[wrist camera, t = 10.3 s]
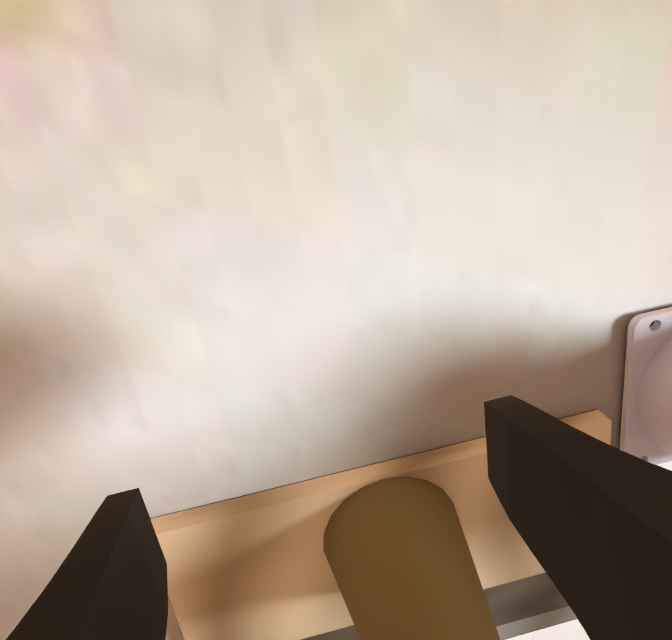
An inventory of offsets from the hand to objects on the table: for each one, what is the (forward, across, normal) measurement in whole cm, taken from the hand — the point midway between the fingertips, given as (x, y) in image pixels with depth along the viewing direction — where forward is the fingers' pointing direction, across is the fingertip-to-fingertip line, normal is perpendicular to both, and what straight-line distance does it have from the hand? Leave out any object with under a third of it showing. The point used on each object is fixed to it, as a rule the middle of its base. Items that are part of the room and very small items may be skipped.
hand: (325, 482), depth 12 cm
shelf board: (+10, -3, +13) cm, 17 cm away
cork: (+10, -3, +12) cm, 15 cm away
